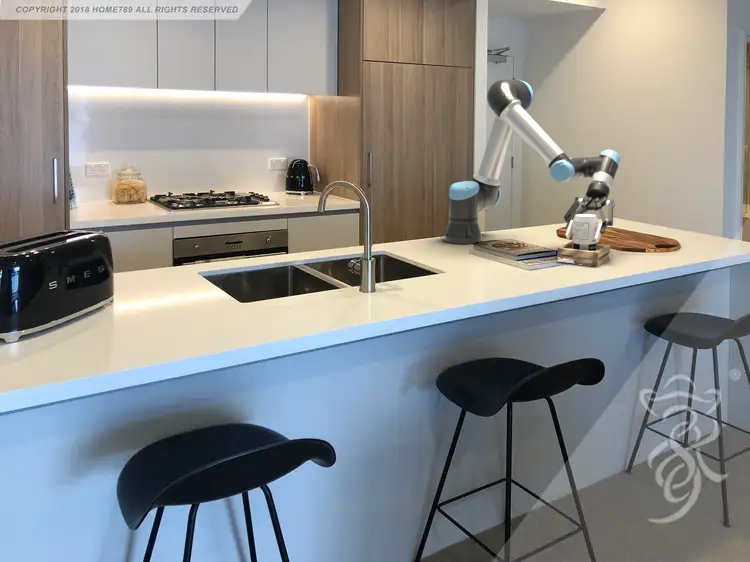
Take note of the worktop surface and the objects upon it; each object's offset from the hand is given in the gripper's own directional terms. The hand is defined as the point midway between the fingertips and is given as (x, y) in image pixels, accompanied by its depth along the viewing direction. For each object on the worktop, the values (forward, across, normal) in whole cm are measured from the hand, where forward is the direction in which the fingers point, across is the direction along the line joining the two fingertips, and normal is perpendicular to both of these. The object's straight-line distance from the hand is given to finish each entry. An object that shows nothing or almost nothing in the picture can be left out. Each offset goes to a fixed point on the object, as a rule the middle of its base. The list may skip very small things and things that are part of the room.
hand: (581, 238), depth 240 cm
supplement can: (+3, 0, -8) cm, 8 cm away
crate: (+4, 0, -8) cm, 9 cm away
